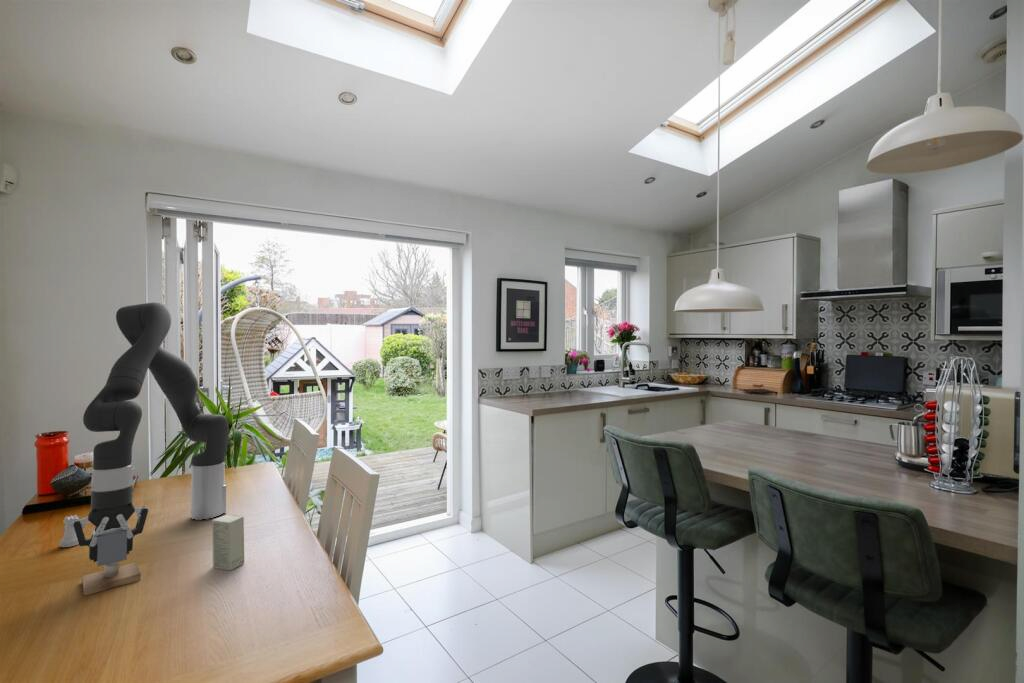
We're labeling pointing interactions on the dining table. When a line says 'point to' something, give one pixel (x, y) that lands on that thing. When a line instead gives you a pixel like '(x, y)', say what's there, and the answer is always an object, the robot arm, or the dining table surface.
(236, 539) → the skincare box
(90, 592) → the wooden stand with post
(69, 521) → the rook chess piece
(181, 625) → the dining table surface
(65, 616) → the dining table surface
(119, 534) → the blue-grey rectangular block
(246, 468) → the dining table surface
